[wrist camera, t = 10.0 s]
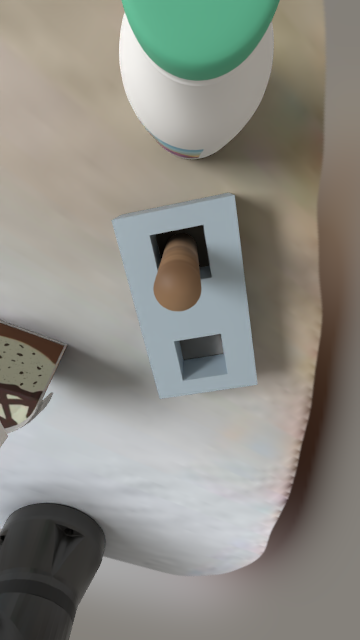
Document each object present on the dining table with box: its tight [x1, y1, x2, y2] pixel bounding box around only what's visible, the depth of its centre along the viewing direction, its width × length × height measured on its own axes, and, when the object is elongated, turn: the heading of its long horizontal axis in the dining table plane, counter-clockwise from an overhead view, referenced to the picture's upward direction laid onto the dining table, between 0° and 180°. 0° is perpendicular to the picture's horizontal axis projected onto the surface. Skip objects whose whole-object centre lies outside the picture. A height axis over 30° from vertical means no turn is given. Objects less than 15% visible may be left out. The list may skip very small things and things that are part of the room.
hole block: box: [112, 193, 258, 399], centre depth 31 cm, size 18×10×4 cm, turn 11°
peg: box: [153, 233, 202, 311], centre depth 26 cm, size 3×3×12 cm
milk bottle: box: [119, 0, 280, 159], centre depth 18 cm, size 8×8×20 cm
